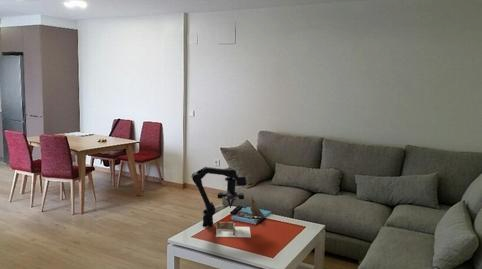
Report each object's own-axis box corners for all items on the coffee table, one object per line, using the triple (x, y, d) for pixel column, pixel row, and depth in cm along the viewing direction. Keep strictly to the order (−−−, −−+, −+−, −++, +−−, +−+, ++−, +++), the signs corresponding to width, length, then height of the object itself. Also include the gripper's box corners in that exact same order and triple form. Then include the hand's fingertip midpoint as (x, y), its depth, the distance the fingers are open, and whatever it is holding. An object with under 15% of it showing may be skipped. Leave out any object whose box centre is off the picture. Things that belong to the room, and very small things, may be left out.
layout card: (216, 237, 253) (216, 236, 253) (216, 226, 270) (216, 226, 270) (251, 237, 254) (251, 236, 254) (249, 227, 271) (249, 226, 271)
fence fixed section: (217, 229, 266) (217, 222, 265) (217, 228, 267) (217, 221, 266) (234, 229, 266) (234, 222, 266) (234, 228, 267) (234, 221, 267)
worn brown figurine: (249, 221, 288) (244, 198, 286) (249, 218, 294) (245, 196, 291) (264, 219, 287) (260, 196, 285) (264, 216, 293) (260, 193, 290)
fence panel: (233, 228, 266) (233, 222, 265) (234, 228, 266) (234, 222, 265) (233, 234, 256) (233, 228, 255) (234, 234, 256) (235, 228, 256)
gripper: (217, 189, 265) (216, 210, 267) (244, 190, 265) (243, 211, 267) (218, 184, 276) (217, 205, 278) (244, 185, 276) (243, 206, 278)
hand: (230, 207), depth 275 cm, fingers closed
